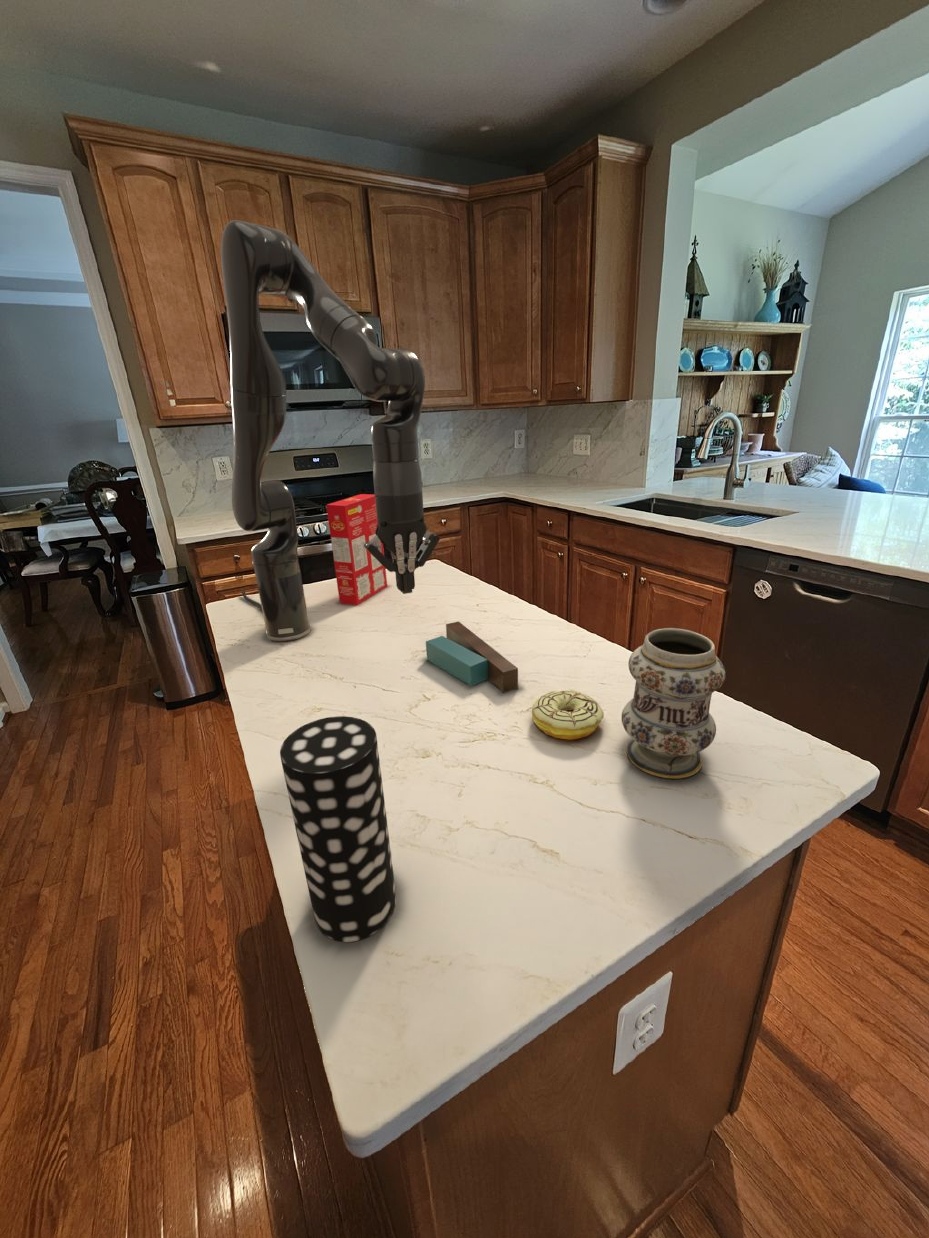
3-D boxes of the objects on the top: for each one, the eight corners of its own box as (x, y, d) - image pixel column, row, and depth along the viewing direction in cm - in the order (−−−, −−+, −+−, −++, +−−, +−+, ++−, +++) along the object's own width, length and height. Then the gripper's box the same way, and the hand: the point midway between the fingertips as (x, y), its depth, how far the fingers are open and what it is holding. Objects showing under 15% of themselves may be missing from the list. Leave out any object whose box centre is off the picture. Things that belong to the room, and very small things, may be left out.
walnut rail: (446, 641, 112) (445, 624, 111) (459, 638, 113) (458, 621, 112) (503, 692, 92) (503, 672, 90) (518, 688, 93) (518, 668, 92)
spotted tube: (321, 874, 58) (291, 719, 50) (397, 866, 59) (379, 713, 51) (307, 946, 50) (269, 777, 43) (394, 937, 51) (373, 768, 43)
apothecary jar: (728, 761, 73) (750, 643, 66) (673, 798, 67) (692, 672, 60) (654, 721, 82) (667, 614, 75) (600, 751, 76) (609, 637, 69)
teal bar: (426, 659, 105) (425, 641, 103) (443, 653, 107) (442, 635, 105) (471, 686, 94) (470, 666, 93) (488, 679, 97) (487, 659, 95)
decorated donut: (614, 720, 83) (616, 700, 82) (577, 753, 76) (579, 731, 74) (557, 698, 90) (558, 678, 88) (519, 726, 82) (519, 705, 81)
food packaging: (371, 584, 148) (360, 494, 139) (387, 586, 146) (378, 494, 137) (339, 602, 136) (326, 504, 126) (357, 605, 134) (344, 505, 124)
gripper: (428, 482, 90) (433, 579, 97) (351, 490, 84) (362, 592, 91) (446, 488, 83) (450, 592, 90) (364, 497, 78) (375, 606, 85)
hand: (406, 592), depth 91 cm, fingers closed
